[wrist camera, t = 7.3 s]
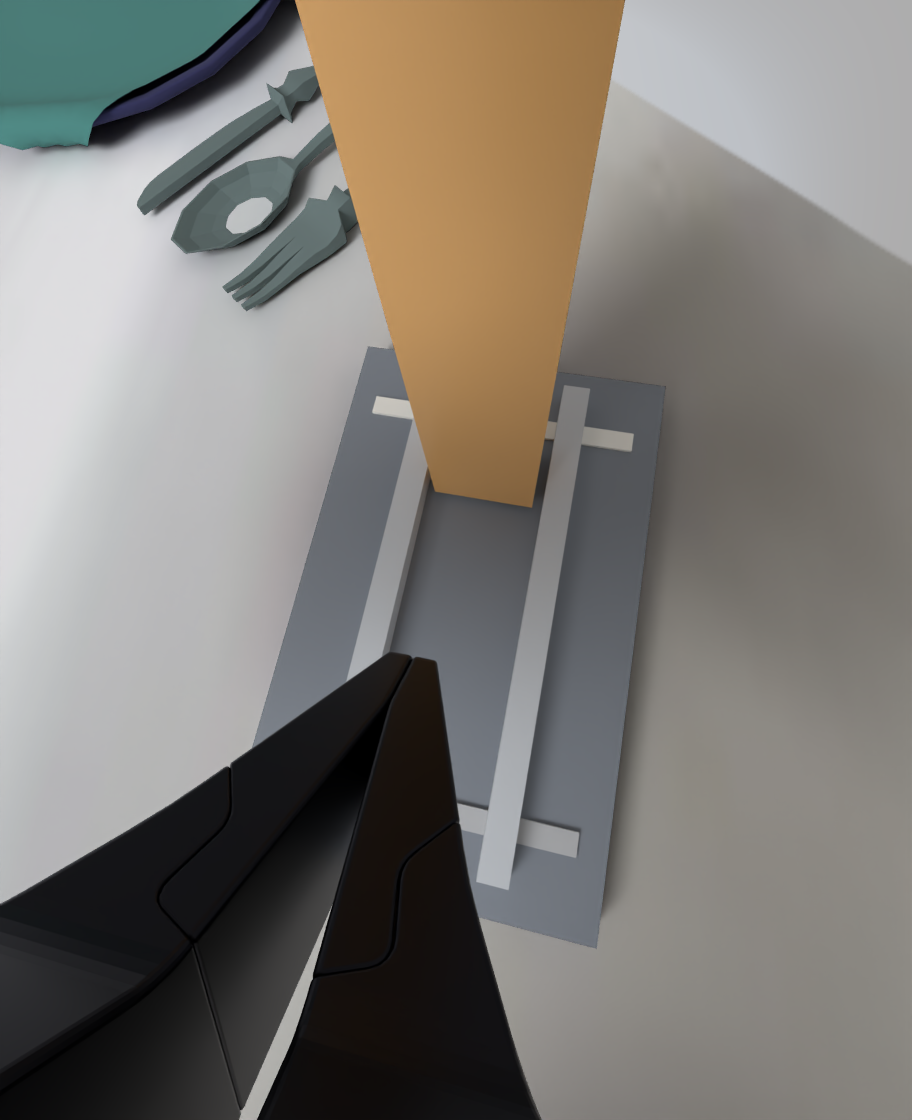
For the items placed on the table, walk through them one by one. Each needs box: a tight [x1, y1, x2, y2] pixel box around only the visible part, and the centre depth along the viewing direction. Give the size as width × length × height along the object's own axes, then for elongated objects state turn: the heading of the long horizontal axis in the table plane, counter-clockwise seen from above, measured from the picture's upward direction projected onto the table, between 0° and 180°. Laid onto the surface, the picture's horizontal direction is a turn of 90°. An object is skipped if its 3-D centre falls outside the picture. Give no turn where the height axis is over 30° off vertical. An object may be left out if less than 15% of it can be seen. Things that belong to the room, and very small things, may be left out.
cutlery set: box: [0, 0, 357, 311], centre depth 24 cm, size 20×30×2 cm, turn 44°
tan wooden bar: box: [295, 0, 625, 508], centre depth 10 cm, size 2×3×13 cm
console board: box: [252, 346, 666, 949], centre depth 16 cm, size 16×10×2 cm, turn 168°
